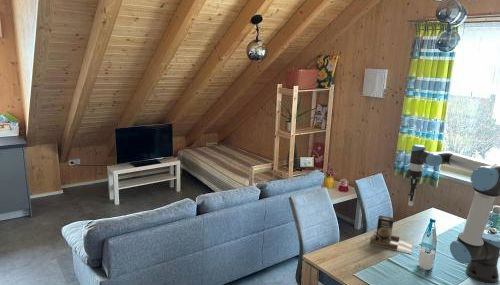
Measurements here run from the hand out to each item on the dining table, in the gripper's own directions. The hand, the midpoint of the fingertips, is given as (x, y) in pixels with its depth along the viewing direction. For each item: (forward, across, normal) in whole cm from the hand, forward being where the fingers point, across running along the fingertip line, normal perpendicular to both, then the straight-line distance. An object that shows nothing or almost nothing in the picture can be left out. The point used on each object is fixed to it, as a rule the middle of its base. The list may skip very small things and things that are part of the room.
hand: (411, 202), depth 232 cm
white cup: (+27, -28, -12) cm, 41 cm away
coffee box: (+26, -9, +13) cm, 31 cm away
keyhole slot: (+27, -9, +8) cm, 29 cm away
